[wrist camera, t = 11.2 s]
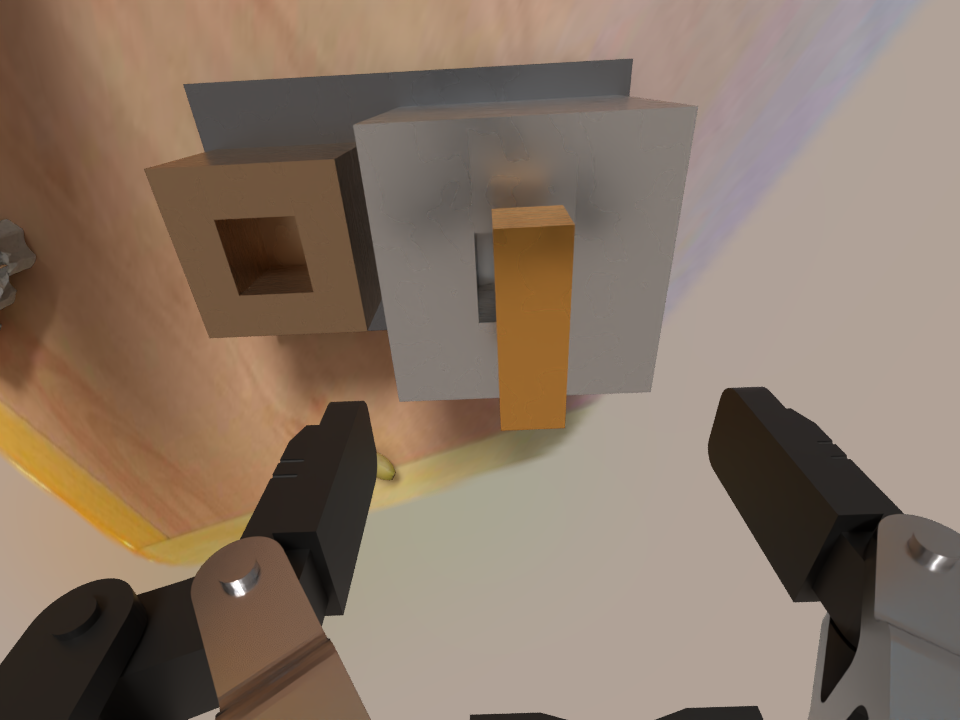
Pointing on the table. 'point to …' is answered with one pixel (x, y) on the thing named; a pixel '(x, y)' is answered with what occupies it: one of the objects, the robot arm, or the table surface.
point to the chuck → (430, 212)
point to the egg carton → (12, 259)
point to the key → (533, 313)
